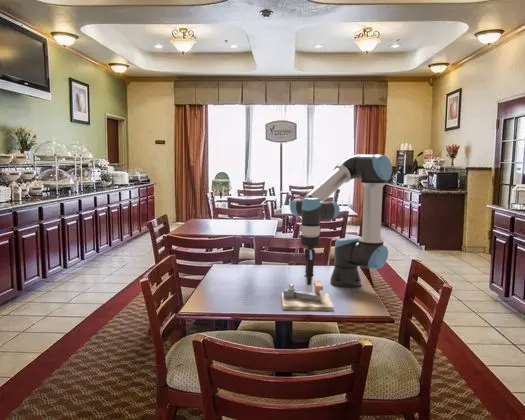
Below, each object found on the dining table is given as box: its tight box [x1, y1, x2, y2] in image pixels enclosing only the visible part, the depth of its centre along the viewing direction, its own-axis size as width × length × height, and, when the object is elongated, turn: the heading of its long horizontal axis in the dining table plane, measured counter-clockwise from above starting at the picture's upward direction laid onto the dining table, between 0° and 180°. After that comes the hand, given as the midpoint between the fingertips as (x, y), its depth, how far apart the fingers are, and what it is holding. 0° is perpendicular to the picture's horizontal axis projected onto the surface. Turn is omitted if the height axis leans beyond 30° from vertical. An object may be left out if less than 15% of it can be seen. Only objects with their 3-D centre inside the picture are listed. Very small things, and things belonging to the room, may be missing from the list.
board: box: [281, 291, 335, 311], centre depth 201 cm, size 21×20×2 cm
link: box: [283, 287, 320, 302], centre depth 202 cm, size 16×5×3 cm, turn 61°
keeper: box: [313, 280, 324, 294], centre depth 205 cm, size 3×10×6 cm, turn 179°
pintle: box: [288, 283, 295, 299], centre depth 204 cm, size 5×5×6 cm
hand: (308, 291), depth 193 cm, fingers closed
